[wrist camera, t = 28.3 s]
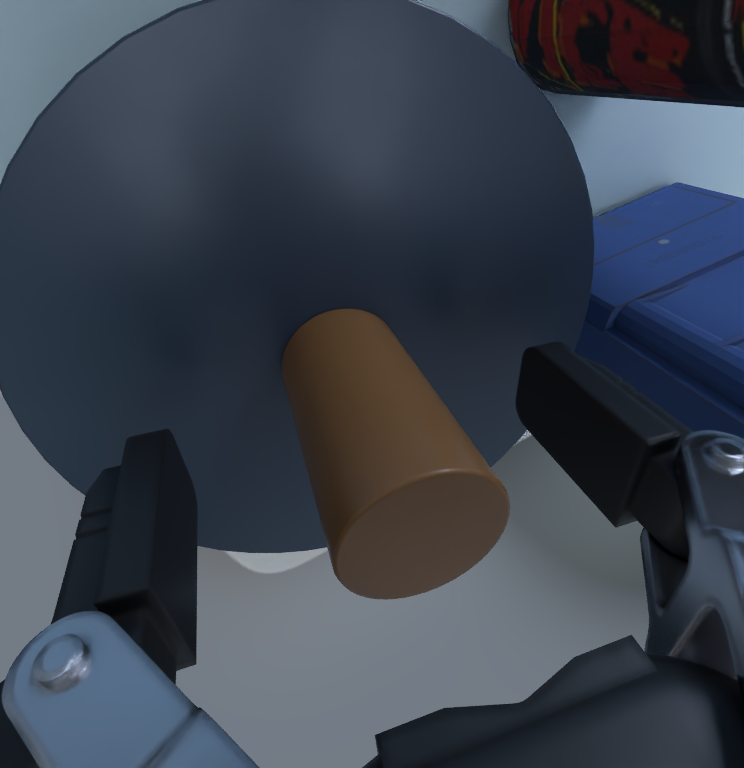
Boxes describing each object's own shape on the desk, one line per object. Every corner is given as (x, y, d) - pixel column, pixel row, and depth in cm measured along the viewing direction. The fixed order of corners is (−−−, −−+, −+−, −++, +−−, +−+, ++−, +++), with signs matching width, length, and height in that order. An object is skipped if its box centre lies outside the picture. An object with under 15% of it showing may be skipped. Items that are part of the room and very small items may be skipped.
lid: (-209, 12, 7) (-1616, -173, 2) (629, -27, 10) (1129, -136, 5) (142, 577, 16) (111, 845, 11) (532, 465, 19) (666, 626, 14)
